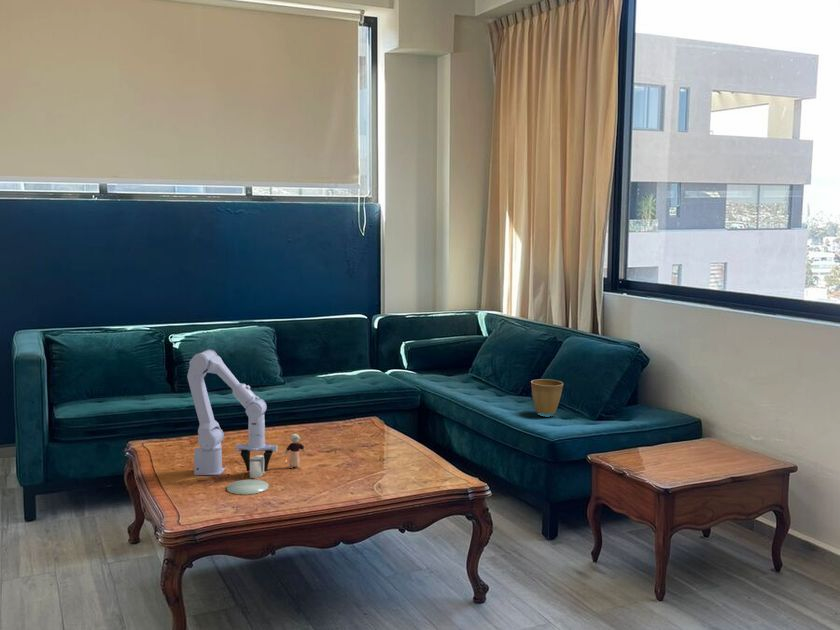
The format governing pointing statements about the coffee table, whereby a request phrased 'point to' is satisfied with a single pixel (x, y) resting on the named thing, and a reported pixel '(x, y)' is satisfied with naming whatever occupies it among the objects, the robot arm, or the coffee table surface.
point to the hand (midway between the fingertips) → (257, 470)
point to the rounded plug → (257, 466)
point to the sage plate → (247, 487)
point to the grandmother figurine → (294, 451)
